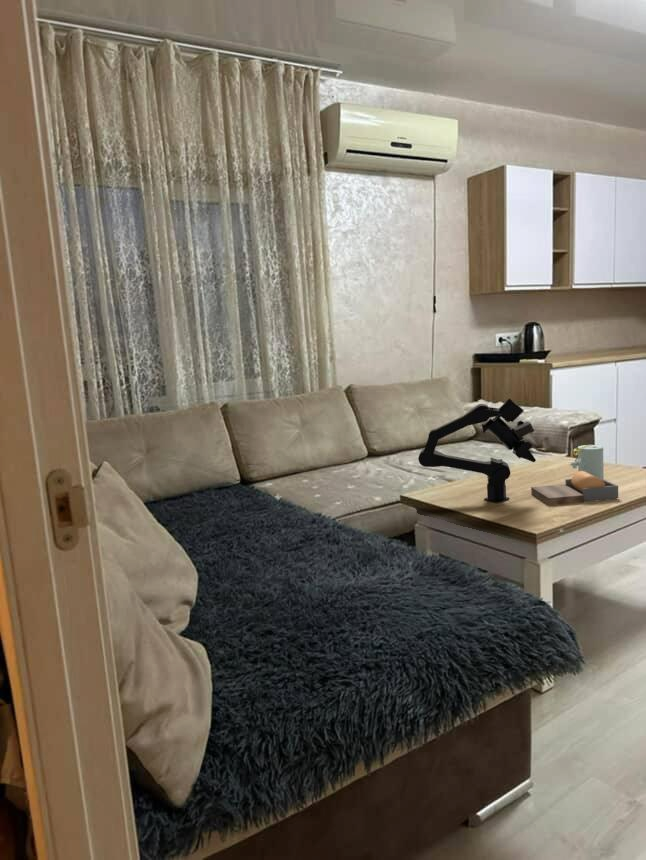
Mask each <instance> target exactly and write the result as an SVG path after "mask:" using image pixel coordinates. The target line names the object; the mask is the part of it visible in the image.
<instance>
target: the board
mask: <svg viewBox="0 0 646 860" xmlns="http://www.w3.org/2000/svg"><path fill="white" fill-rule="evenodd" d="M530 491H531V495H533V496H534V497H536V498H538V499H539V500H540V501H542V502H543V503H545V504H546V505H547V506H556V505H557V504H559V505H568V504H569V505H570V503H571V504H580V503H585V502H584V495H583V494H581V493H579V492H577V491H575V490H573V489H572V488H570V487H568V486H566V484H564V483H562V484H553V485H542V486H541V485H540V486H531V487H530Z"/></svg>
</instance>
